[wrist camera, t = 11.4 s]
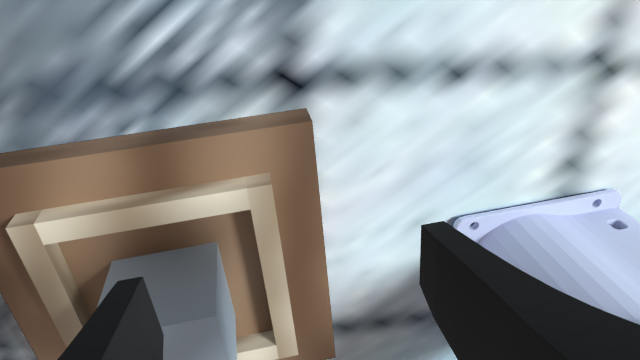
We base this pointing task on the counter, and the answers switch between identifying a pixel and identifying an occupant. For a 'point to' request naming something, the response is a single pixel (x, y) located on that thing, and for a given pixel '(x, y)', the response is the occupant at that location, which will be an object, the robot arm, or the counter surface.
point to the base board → (172, 227)
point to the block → (186, 300)
